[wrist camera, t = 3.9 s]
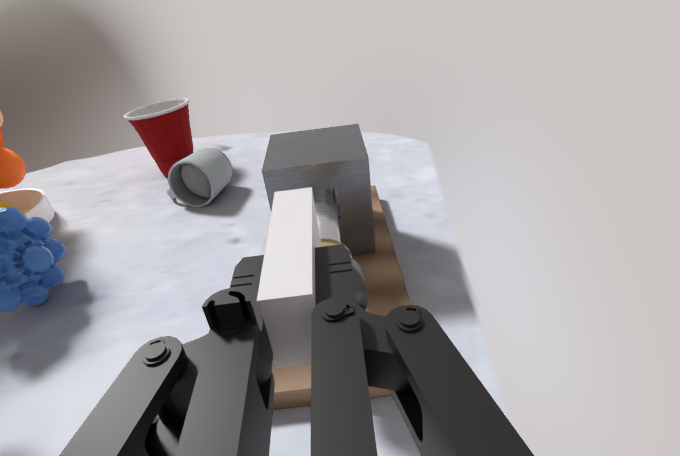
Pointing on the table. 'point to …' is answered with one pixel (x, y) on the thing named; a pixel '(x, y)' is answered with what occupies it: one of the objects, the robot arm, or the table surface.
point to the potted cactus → (9, 171)
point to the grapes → (27, 259)
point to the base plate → (382, 298)
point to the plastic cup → (164, 131)
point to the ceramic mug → (199, 177)
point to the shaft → (337, 237)
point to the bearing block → (327, 176)
